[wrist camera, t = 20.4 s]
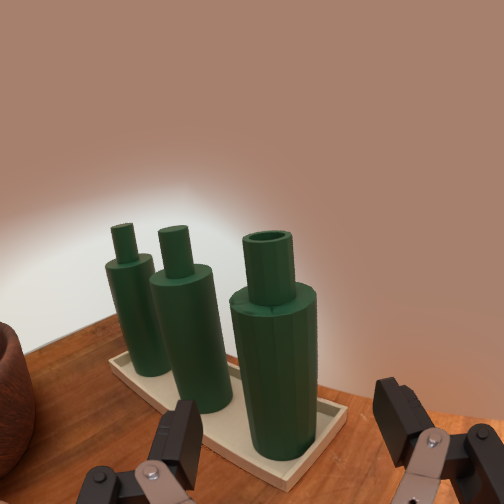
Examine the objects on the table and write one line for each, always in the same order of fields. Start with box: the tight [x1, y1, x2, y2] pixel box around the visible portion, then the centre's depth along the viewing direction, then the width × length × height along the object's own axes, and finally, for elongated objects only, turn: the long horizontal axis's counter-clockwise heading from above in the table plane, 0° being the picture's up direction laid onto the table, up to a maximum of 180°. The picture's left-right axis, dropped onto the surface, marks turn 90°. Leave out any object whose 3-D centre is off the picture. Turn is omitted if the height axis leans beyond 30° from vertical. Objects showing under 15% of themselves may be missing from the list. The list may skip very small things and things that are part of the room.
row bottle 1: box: [105, 223, 171, 377], centre depth 35 cm, size 6×6×18 cm
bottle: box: [229, 231, 318, 461], centre depth 22 cm, size 6×6×18 cm
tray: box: [108, 351, 348, 493], centre depth 30 cm, size 28×10×2 cm, turn 50°
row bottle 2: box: [149, 225, 233, 414], centre depth 28 cm, size 6×6×18 cm
